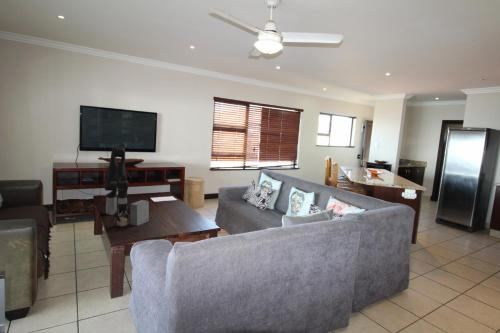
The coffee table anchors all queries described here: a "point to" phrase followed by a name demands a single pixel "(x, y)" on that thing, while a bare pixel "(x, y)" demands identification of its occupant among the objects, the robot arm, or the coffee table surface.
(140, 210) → the hard drive box
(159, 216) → the coffee table surface
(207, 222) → the coffee table surface
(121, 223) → the maple cube
